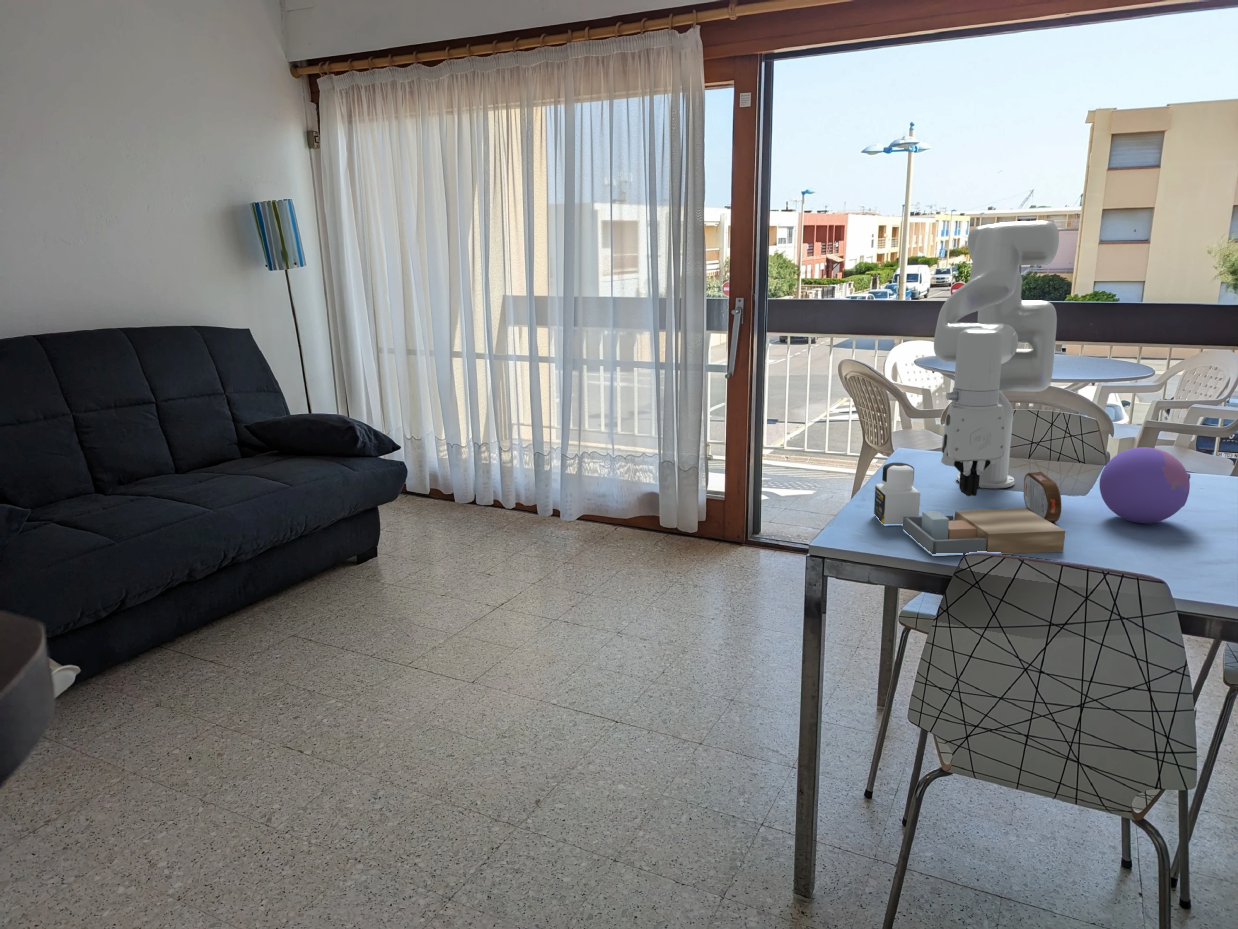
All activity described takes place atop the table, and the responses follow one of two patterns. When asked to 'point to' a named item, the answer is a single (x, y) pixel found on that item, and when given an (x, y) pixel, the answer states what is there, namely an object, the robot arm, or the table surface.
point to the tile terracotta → (961, 530)
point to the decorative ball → (1144, 485)
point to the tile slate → (935, 525)
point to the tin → (1042, 496)
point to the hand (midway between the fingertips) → (968, 493)
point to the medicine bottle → (896, 494)
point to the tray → (941, 546)
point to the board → (1014, 530)
